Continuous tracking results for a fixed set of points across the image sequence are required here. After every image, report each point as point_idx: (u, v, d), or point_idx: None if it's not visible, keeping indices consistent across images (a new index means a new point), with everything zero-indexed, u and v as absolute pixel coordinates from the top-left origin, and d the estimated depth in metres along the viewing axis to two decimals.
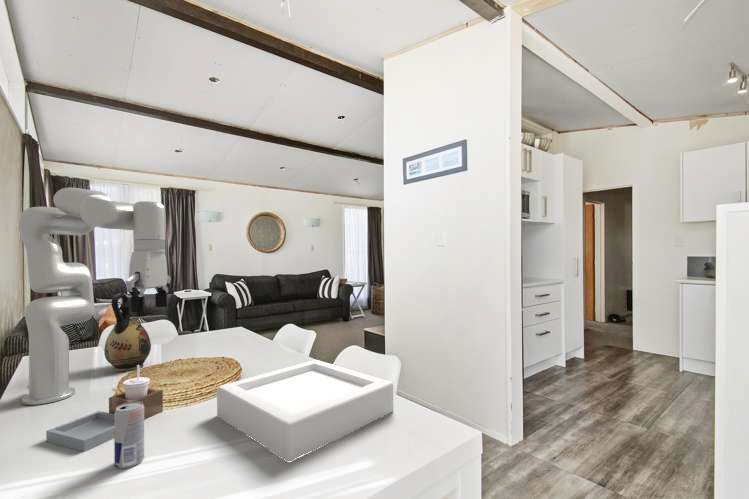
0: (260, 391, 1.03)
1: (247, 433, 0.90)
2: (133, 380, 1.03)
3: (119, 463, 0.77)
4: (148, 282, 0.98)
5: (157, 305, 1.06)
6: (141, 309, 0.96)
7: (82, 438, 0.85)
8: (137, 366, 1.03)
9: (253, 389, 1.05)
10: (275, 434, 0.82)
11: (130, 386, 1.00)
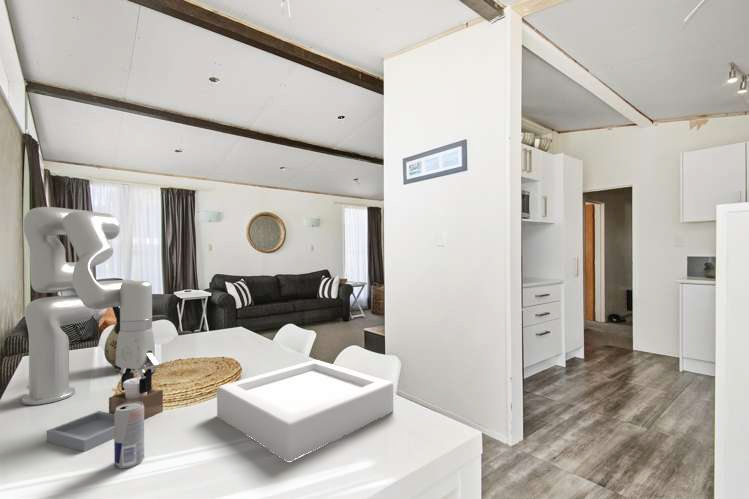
0: (260, 391, 1.03)
1: (247, 433, 0.90)
2: (133, 380, 1.03)
3: (119, 463, 0.77)
4: None
5: None
6: (149, 388, 1.03)
7: (82, 438, 0.85)
8: None
9: (253, 389, 1.05)
10: (275, 434, 0.82)
11: (130, 386, 1.00)
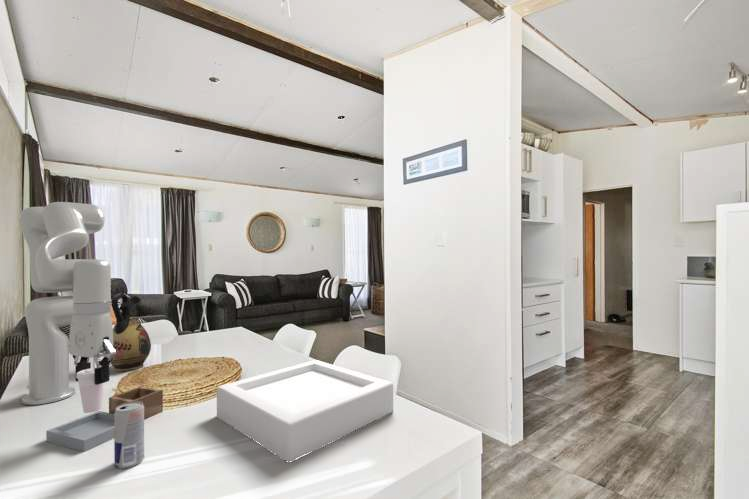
0: (260, 391, 1.03)
1: (247, 433, 0.90)
2: (88, 370, 0.92)
3: (119, 463, 0.77)
4: None
5: None
6: (107, 378, 0.92)
7: (82, 438, 0.85)
8: None
9: (253, 389, 1.05)
10: (275, 434, 0.82)
11: (84, 376, 0.89)
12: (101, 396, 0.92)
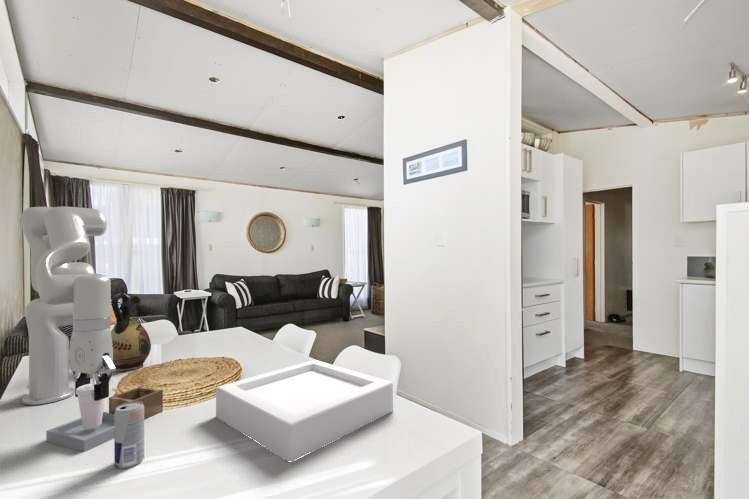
0: (259, 392, 1.03)
1: (247, 434, 0.90)
2: (88, 386, 0.92)
3: (119, 463, 0.77)
4: None
5: None
6: (106, 394, 0.92)
7: (82, 438, 0.85)
8: None
9: (252, 389, 1.04)
10: (276, 434, 0.82)
11: (83, 393, 0.89)
12: (100, 412, 0.92)
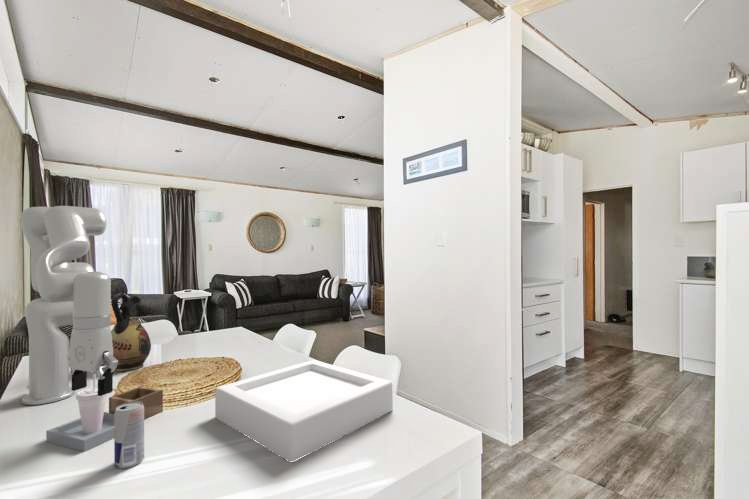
0: (259, 392, 1.03)
1: (247, 434, 0.90)
2: (88, 391, 0.92)
3: (119, 463, 0.77)
4: None
5: (76, 388, 0.93)
6: (110, 389, 0.92)
7: (82, 438, 0.85)
8: (93, 375, 0.92)
9: (252, 390, 1.04)
10: (277, 434, 0.82)
11: (84, 398, 0.89)
12: (101, 417, 0.92)
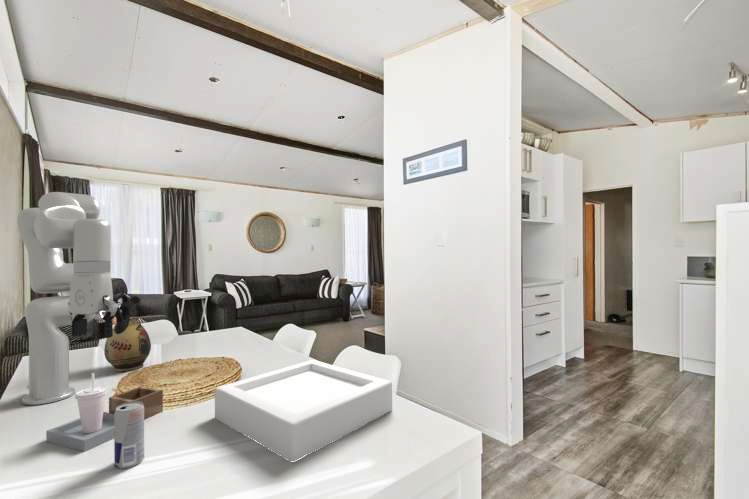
0: (258, 392, 1.02)
1: (247, 434, 0.90)
2: (87, 390, 0.92)
3: (119, 463, 0.77)
4: None
5: (76, 334, 0.93)
6: (110, 334, 0.92)
7: (82, 438, 0.85)
8: (92, 374, 0.92)
9: (251, 390, 1.04)
10: (278, 434, 0.82)
11: (83, 397, 0.89)
12: (100, 416, 0.92)
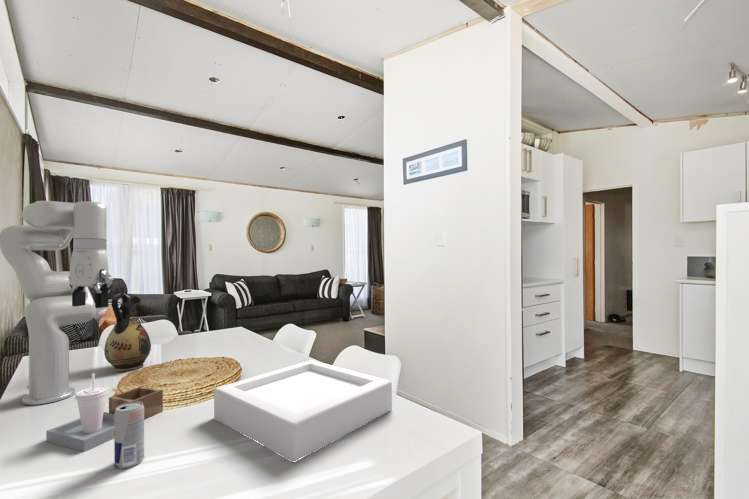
0: (258, 392, 1.02)
1: (248, 434, 0.90)
2: (88, 390, 0.92)
3: (119, 463, 0.77)
4: None
5: (76, 304, 1.05)
6: (106, 304, 1.03)
7: (82, 438, 0.85)
8: (92, 375, 0.92)
9: (251, 390, 1.04)
10: (279, 434, 0.82)
11: (83, 397, 0.89)
12: (100, 416, 0.92)
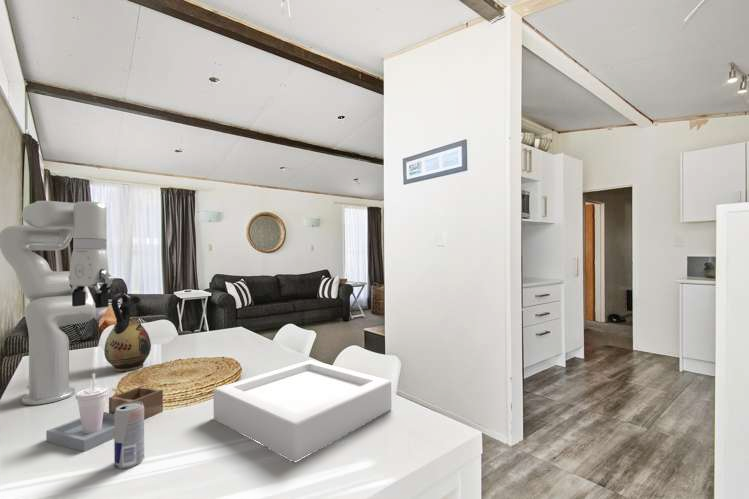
0: (258, 392, 1.02)
1: (248, 435, 0.89)
2: (88, 391, 0.92)
3: (119, 463, 0.77)
4: None
5: (76, 304, 1.05)
6: (106, 304, 1.03)
7: (82, 438, 0.85)
8: (92, 375, 0.92)
9: (250, 390, 1.04)
10: (280, 434, 0.82)
11: (84, 398, 0.89)
12: (101, 416, 0.92)
